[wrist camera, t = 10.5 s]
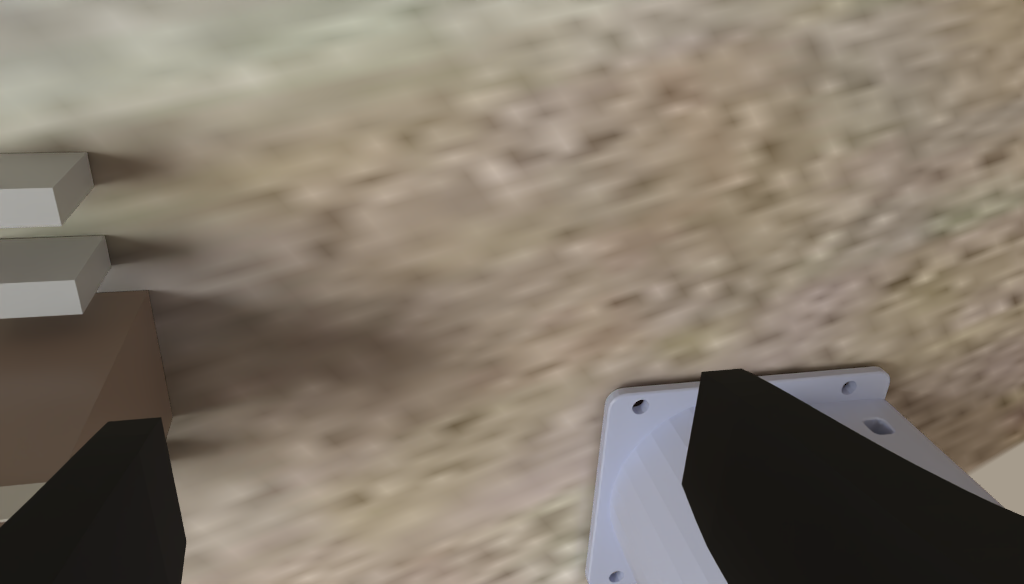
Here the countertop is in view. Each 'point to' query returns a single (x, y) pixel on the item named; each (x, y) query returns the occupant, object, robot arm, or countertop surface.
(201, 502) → the countertop surface
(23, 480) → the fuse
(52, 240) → the clip block
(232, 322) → the countertop surface
